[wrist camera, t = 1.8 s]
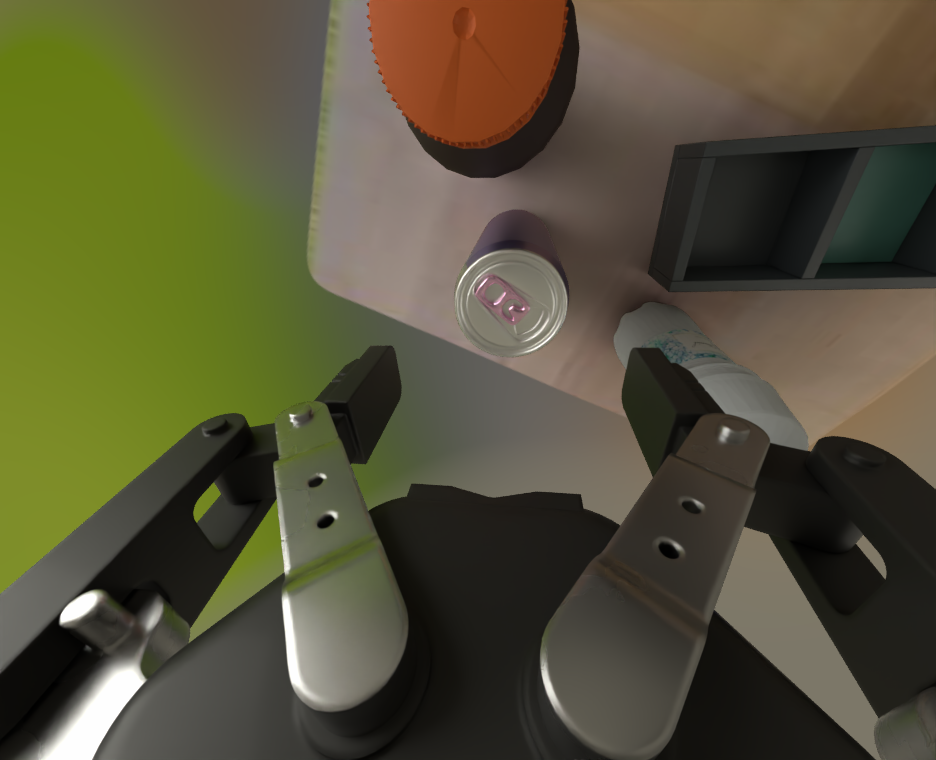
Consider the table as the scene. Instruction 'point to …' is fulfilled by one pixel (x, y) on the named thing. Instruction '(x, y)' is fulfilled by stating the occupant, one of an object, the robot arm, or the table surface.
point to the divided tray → (800, 213)
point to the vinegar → (478, 76)
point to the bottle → (709, 369)
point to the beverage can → (512, 287)
